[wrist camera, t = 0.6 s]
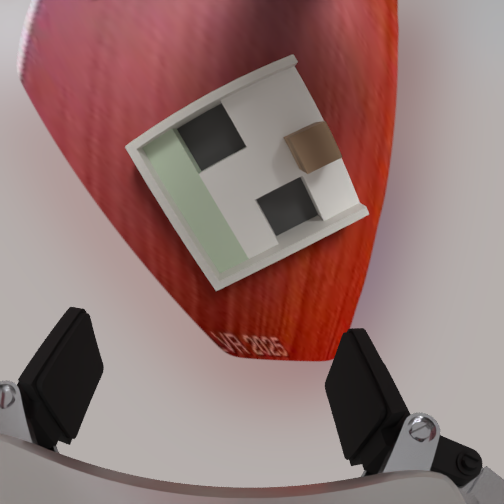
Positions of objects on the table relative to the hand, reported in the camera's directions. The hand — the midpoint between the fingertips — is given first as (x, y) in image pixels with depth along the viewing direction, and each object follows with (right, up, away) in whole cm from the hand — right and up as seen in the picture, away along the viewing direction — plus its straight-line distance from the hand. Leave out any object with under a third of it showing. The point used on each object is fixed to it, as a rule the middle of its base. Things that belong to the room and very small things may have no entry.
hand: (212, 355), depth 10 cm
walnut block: (+7, +15, +20) cm, 26 cm away
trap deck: (+1, +13, +24) cm, 28 cm away
